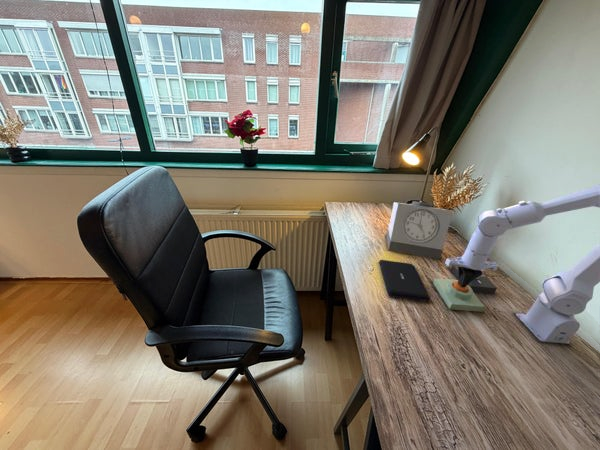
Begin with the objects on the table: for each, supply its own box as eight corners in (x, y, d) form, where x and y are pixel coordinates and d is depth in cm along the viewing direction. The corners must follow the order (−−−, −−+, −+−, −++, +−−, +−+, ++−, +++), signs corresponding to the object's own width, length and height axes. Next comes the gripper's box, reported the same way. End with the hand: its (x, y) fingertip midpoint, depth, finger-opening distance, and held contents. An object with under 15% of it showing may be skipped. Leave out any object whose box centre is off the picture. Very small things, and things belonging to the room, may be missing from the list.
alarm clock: (388, 250, 103) (400, 206, 94) (385, 232, 117) (396, 192, 108) (440, 259, 100) (458, 214, 90) (431, 240, 113) (446, 199, 104)
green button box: (482, 311, 76) (487, 302, 74) (449, 309, 76) (454, 299, 74) (461, 285, 86) (465, 276, 84) (432, 283, 86) (436, 274, 85)
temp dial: (476, 272, 89) (480, 263, 88) (482, 279, 86) (487, 270, 84) (465, 271, 89) (469, 262, 88) (471, 278, 86) (475, 269, 84)
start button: (469, 294, 78) (471, 289, 77) (456, 293, 78) (458, 288, 77) (462, 285, 81) (464, 281, 80) (450, 284, 81) (452, 280, 80)
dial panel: (494, 293, 83) (497, 287, 82) (467, 291, 84) (470, 285, 82) (473, 271, 94) (476, 265, 93) (450, 269, 94) (452, 263, 93)
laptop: (421, 268, 93) (422, 264, 93) (431, 306, 76) (433, 301, 75) (378, 260, 97) (379, 255, 96) (378, 294, 80) (380, 289, 79)
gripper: (494, 244, 76) (476, 278, 82) (447, 240, 76) (433, 275, 82) (510, 257, 69) (490, 293, 76) (459, 253, 70) (443, 289, 76)
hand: (461, 285), depth 79 cm, fingers closed, pressing on start button
